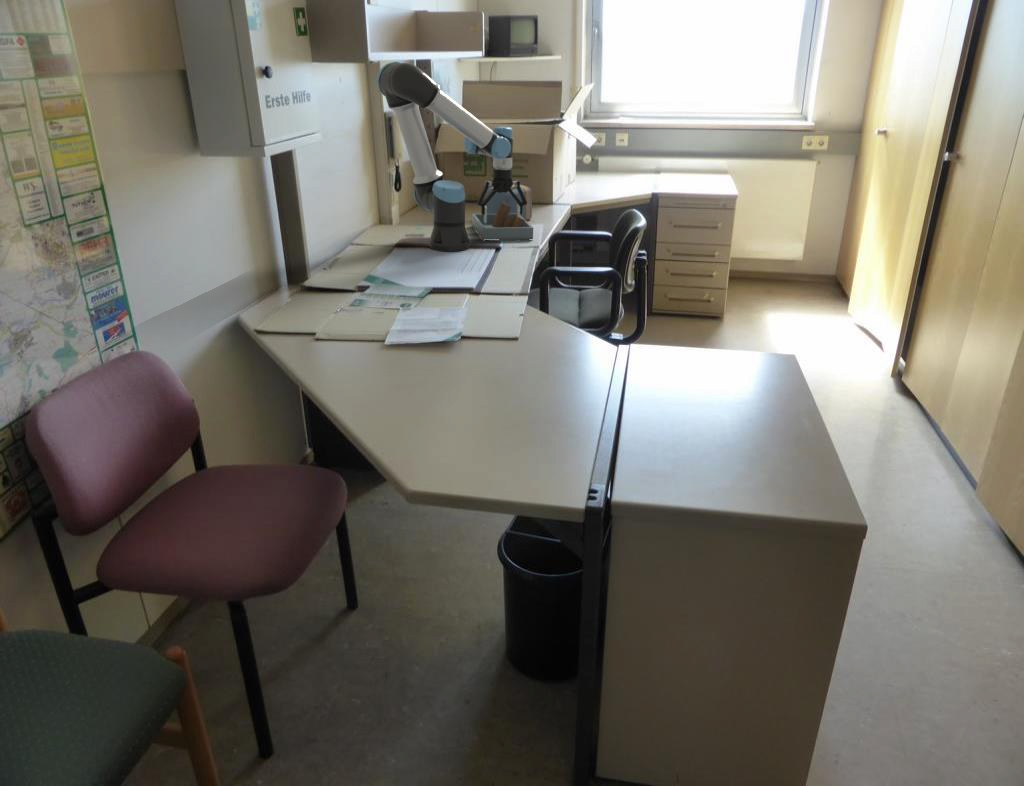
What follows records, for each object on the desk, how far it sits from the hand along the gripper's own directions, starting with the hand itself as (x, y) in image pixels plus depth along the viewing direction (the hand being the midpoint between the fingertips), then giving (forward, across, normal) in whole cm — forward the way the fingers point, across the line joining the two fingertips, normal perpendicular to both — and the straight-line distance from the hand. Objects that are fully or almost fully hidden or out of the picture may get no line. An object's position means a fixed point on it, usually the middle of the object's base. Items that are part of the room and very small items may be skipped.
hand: (501, 222), depth 296 cm
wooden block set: (+3, +2, 0) cm, 4 cm away
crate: (+4, 0, 0) cm, 4 cm away
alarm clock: (+4, +8, +27) cm, 29 cm away
